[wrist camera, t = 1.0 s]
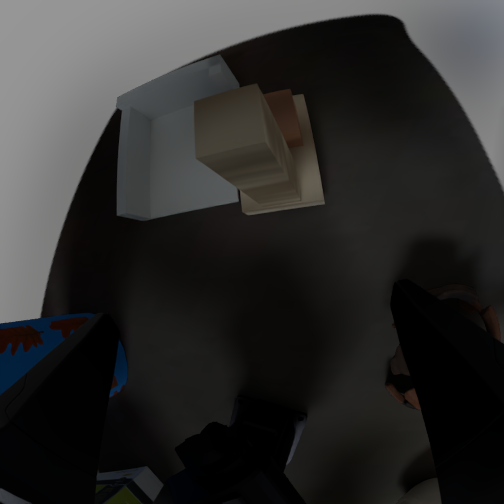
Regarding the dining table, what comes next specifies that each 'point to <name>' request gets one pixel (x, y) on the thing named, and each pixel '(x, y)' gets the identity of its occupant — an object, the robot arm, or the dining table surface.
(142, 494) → the tea box
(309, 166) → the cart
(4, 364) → the thermos
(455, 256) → the dining table surface
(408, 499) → the baseball
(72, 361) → the robot arm
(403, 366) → the pottery mug
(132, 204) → the bay
